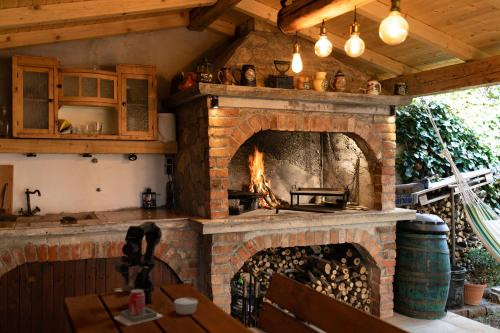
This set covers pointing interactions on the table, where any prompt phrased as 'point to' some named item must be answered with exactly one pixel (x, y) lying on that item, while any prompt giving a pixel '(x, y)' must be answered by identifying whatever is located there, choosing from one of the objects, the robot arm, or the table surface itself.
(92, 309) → the table surface
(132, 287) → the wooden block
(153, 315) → the holder board
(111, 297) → the table surface
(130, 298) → the soda can
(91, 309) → the table surface
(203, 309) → the table surface
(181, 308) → the ramekin
